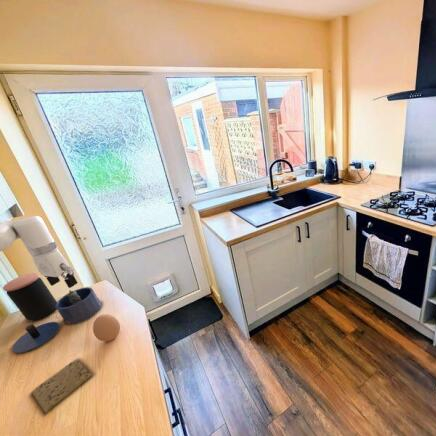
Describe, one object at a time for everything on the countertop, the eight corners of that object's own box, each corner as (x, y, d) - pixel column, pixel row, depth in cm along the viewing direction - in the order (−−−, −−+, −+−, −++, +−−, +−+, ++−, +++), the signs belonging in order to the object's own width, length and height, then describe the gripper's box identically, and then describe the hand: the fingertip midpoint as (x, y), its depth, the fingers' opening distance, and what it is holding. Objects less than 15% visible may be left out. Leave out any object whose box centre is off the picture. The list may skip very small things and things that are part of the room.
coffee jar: (54, 301, 116) (33, 270, 108) (63, 308, 110) (41, 276, 103) (24, 317, 108) (-1, 285, 100) (32, 325, 102) (6, 292, 95)
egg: (125, 337, 91) (113, 316, 87) (101, 350, 87) (87, 329, 83) (122, 325, 97) (111, 305, 92) (99, 337, 93) (86, 316, 88)
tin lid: (5, 351, 92) (-6, 339, 89) (45, 322, 104) (37, 311, 101) (30, 356, 88) (20, 345, 86) (68, 326, 100) (61, 315, 97)
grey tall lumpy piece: (71, 316, 104) (56, 294, 99) (84, 306, 109) (71, 284, 104) (81, 317, 103) (67, 295, 98) (94, 307, 108) (82, 286, 103)
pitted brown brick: (31, 393, 76) (29, 391, 75) (77, 359, 85) (75, 358, 84) (44, 414, 70) (43, 412, 69) (92, 375, 79) (91, 373, 78)
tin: (58, 322, 103) (47, 307, 99) (87, 300, 113) (78, 286, 110) (80, 326, 99) (70, 310, 96) (108, 303, 110) (99, 288, 107)
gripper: (15, 252, 91) (39, 288, 98) (48, 255, 87) (70, 292, 94) (38, 242, 98) (59, 276, 105) (70, 244, 93) (89, 280, 100)
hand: (64, 284), depth 99 cm, fingers open, 9 cm apart
